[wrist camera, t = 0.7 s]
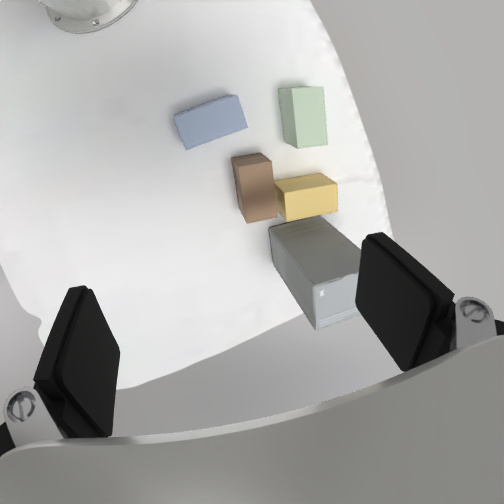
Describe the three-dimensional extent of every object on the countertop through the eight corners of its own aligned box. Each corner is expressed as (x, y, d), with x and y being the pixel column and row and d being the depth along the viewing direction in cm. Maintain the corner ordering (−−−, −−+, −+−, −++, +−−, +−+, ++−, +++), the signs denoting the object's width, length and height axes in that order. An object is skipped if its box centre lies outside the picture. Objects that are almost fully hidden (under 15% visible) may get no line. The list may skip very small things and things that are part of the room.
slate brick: (185, 143, 35) (185, 150, 30) (174, 115, 33) (173, 118, 28) (239, 122, 35) (248, 127, 31) (230, 94, 33) (237, 95, 29)
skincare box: (272, 263, 46) (310, 338, 33) (267, 221, 42) (309, 288, 29) (324, 251, 47) (376, 316, 34) (323, 209, 43) (383, 267, 30)
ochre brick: (275, 207, 42) (286, 221, 37) (272, 180, 40) (284, 193, 35) (321, 198, 42) (337, 211, 38) (320, 172, 40) (337, 183, 36)
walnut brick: (231, 157, 37) (238, 167, 33) (260, 152, 37) (271, 161, 33) (239, 208, 41) (246, 223, 36) (266, 202, 41) (277, 217, 37)
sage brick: (277, 88, 34) (291, 88, 29) (306, 86, 34) (323, 86, 30) (283, 141, 37) (297, 148, 33) (311, 137, 38) (327, 144, 33)
